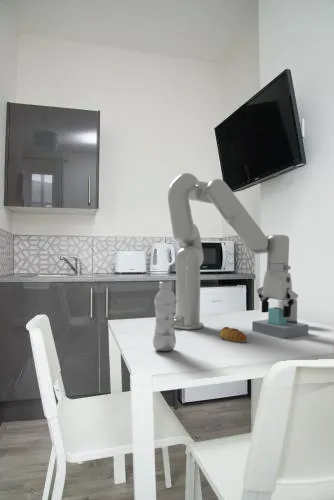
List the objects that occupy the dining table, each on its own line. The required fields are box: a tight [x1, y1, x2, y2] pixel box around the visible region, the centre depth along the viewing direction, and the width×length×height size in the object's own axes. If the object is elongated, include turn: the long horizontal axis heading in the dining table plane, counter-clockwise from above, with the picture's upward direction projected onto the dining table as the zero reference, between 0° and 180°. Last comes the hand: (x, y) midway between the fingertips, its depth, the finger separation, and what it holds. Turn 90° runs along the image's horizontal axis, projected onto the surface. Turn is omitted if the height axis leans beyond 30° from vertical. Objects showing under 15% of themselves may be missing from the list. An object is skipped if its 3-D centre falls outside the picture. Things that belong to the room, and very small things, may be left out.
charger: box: [267, 306, 286, 326], centre depth 120 cm, size 4×4×9 cm
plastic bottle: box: [152, 280, 177, 352], centre depth 95 cm, size 6×7×20 cm
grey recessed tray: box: [251, 319, 309, 340], centre depth 121 cm, size 14×14×4 cm
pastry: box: [219, 326, 248, 343], centre depth 109 cm, size 9×7×4 cm
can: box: [277, 299, 298, 321], centre depth 134 cm, size 8×8×12 cm
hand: (275, 314), depth 120 cm, fingers open, 9 cm apart
